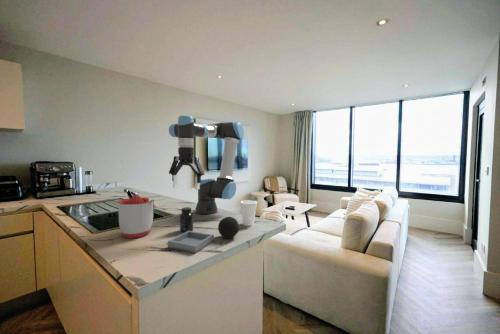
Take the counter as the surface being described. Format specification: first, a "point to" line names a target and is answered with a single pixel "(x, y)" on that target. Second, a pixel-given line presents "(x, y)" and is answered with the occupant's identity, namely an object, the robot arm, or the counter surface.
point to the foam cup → (248, 212)
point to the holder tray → (191, 241)
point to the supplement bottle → (186, 220)
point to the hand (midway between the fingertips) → (186, 188)
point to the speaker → (228, 227)
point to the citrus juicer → (135, 216)
